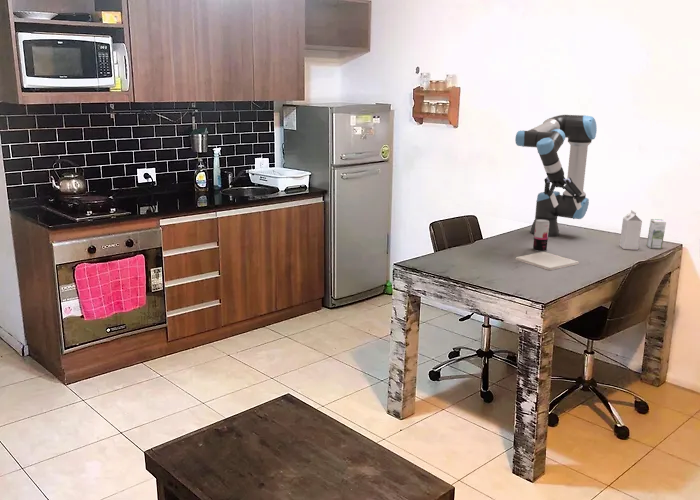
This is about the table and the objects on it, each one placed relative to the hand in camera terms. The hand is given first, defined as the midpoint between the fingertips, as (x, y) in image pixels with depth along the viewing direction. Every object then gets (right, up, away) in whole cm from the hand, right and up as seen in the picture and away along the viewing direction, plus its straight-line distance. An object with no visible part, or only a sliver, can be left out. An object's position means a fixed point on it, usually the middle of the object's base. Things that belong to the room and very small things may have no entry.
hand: (567, 207), depth 309 cm
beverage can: (-10, -21, +12) cm, 26 cm away
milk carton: (+38, -20, +20) cm, 47 cm away
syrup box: (+52, -19, +22) cm, 60 cm away
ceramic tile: (-13, -26, -9) cm, 30 cm away
